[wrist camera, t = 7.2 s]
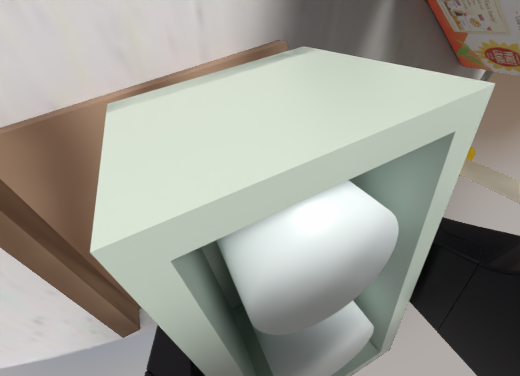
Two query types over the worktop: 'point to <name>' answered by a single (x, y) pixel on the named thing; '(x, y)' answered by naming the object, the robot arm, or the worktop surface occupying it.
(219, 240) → the pale green crate
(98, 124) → the walnut shelf
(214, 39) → the worktop surface
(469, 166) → the candle
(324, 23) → the worktop surface
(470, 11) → the cracker box
